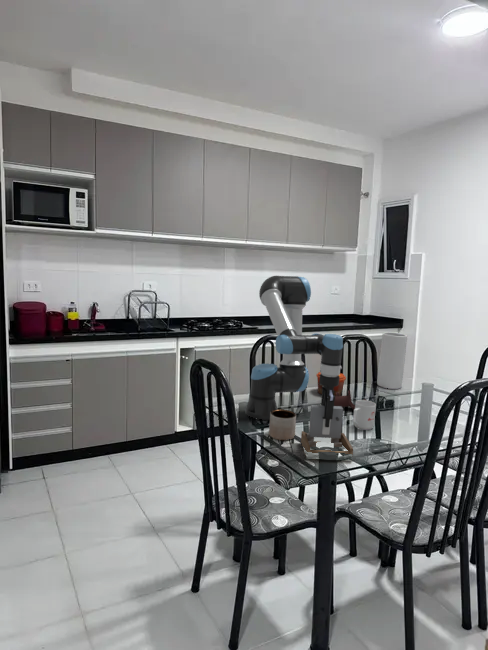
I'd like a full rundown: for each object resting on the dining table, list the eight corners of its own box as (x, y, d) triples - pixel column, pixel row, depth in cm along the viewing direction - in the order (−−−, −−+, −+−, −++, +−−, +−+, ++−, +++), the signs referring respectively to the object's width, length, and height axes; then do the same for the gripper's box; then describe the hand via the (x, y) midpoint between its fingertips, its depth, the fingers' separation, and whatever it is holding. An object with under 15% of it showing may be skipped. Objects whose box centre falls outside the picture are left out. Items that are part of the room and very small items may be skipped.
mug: (360, 421, 211) (363, 398, 210) (377, 428, 205) (380, 404, 203) (344, 427, 204) (347, 403, 202) (361, 433, 197) (364, 409, 195)
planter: (292, 431, 196) (294, 409, 194) (296, 441, 185) (298, 419, 184) (267, 430, 195) (269, 408, 194) (269, 440, 185) (271, 417, 183)
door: (310, 438, 178) (312, 408, 176) (308, 433, 182) (311, 404, 180) (341, 439, 178) (343, 409, 176) (338, 435, 182) (341, 406, 180)
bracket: (369, 408, 222) (366, 388, 225) (334, 411, 225) (331, 391, 228) (369, 409, 228) (366, 389, 230) (334, 412, 231) (332, 392, 234)
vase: (381, 389, 266) (387, 336, 261) (373, 382, 280) (378, 331, 275) (405, 390, 267) (412, 337, 262) (395, 383, 281) (401, 332, 276)
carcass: (306, 459, 170) (307, 446, 169) (300, 443, 184) (301, 431, 183) (351, 461, 170) (353, 448, 169) (342, 444, 184) (343, 433, 184)
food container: (317, 387, 262) (319, 369, 261) (345, 391, 258) (347, 373, 256) (312, 395, 247) (314, 375, 246) (342, 399, 243) (344, 380, 241)
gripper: (344, 380, 168) (338, 441, 172) (334, 369, 184) (329, 425, 188) (324, 379, 168) (319, 440, 172) (316, 368, 184) (311, 424, 188)
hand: (324, 432), depth 180 cm, fingers closed on door, 3 cm apart
